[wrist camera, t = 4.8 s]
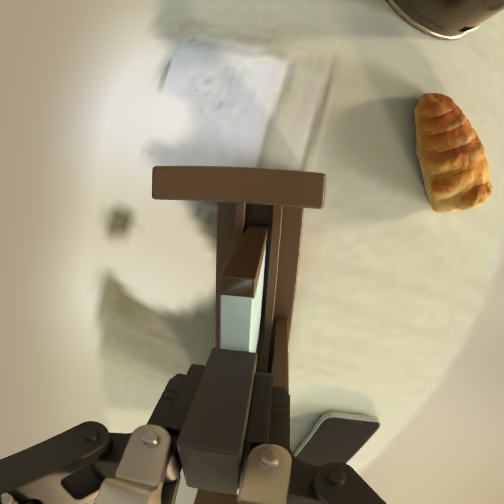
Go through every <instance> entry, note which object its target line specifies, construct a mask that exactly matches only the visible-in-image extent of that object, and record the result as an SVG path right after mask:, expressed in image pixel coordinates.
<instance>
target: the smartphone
mask: <svg viewBox="0 0 504 504" xmlns="http://www.w3.org/2000/svg"><path fill="white" fill-rule="evenodd" d="M379 427H380V421H379V418H377V417H373V416H364V415H355V414H348V413H340V412H327V413H325V414H323V415H322V416H321V417H320V419H319V420H318V422H317V423H316V425H315V426H314V427H313V429H312V430H311V431H310V433H309V434H308V436H307V437H306V438H305V440H304V441H303V442H302V444H301V445H300V446H299V447H298V449H297V450H296V451H295V453H294V454H293V455H294V456H295V457H296V458H297V459H299V460H300V461H302V462H305V463H308V464H312V465H315V466H319V467H320V466H322V465H324V464H326V463H329V462H341V463H345V464H346V463H347V462H348V461H349V460H350V459H351V458H352V457H353V456H354V455H355V454H356V453H357V452H358V451H359V450H360V449H361V448H362V447H363V446H364V445H365V443H366V442H367V441H368V440H369V439H370V438H371V437H372V436H373V435H374V433H375V432H376V431H377V430H378V429H379Z"/></svg>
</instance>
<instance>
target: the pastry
mask: <svg viewBox="0 0 504 504" xmlns="http://www.w3.org/2000/svg"><path fill="white" fill-rule="evenodd" d="M414 115H415V125H416V140H417V143H416V154H417V156H418V159H419V166H420V169H421V175H422V177H423V181H424V187H425V191H426V195H427V197H428V198H429V201H430V204H431V207H432V209H433V210H434V211H435V212H437V213H450V212H454V211H457V210H466V209H469V208H472V207H476V206H478V205H481V204H483V203H484V202H485V201H486V200H487V199H489V197H490V196H491V192H492V186H491V184H490V177H489V167H488V163H487V160H486V157H485V151H484V147H483V145H482V143H481V141H480V140H479V138H478V136H477V134H476V132H475V130H474V129H473V128H472V126H471V124H470V122H469V120H468V119H467V118H466V117H465V115H464V114H463V113H462V111H461V109H460V108H459V107H458V106H457V105H456V104H455V103H454V101H453V100H452V99H451V98H449V97H447V96H445V95H443V94H438V93H431V94H429V93H428V94H424V95H422V96H421V98H420V100H419V102H418V104H417V106H416V108H415V110H414Z"/></svg>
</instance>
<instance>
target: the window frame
mask: <svg viewBox="0 0 504 504" xmlns="http://www.w3.org/2000/svg"><path fill="white" fill-rule="evenodd" d="M152 174H153V175H152V198H153V199H161V200H163V199H164V200H192V201H215V202H218V218H217V256H216V348H219V349H220V295H219V276H220V274H221V272H222V270H223V269H224V267H225V265H226V264H227V262H228V260H229V258H230V257H231V255H232V253H233V252H234V250H235V248H236V246H237V245H238V243H239V241H240V240H241V238H242V236H243V235H244V233H245V231H246V230H247V228H248V226H249V224H252V225H266V226H268V237H267V242H266V256H265V270H264V284H263V297H262V310H261V323H260V342H259V349H258V356H257V363H256V372H258V373H269V374H273V376H272V386H278V387H285V389H286V390H287V392H288V394H289V377H288V344H289V337H290V330H291V323H292V315H293V307H294V299H295V291H296V282H297V273H298V264H299V255H300V245H301V235H302V224H303V213H304V208H314V209H322V208H323V207H324V199H325V187H326V175H325V174H323V173H315V172H305V171H293V170H280V169H266V168H248V167H223V166H155V167H153V172H152ZM242 478H243V474H242ZM241 482H242V479H241ZM237 496H238V495H234V494H227V493H220V492H214V491H208V490H203V489H198V491H197V495H196V499H195V502H194V504H235V503H236V500H237Z"/></svg>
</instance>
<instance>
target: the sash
mask: <svg viewBox="0 0 504 504" xmlns="http://www.w3.org/2000/svg"><path fill="white" fill-rule="evenodd" d="M267 237H268V226H266V225H252V224H249V226H248V228H247V230H246V231H245V233H244V235H243V236H242V238H241V240H240V241H239V243H238V245H237V246H236V248H235V250H234V252H233V253H232V255H231V257H230V258H229V260H228V262H227V264H226V265H225V267H224V269H223V270H222V272H221V274H220V276H219V295H220V349H219V348H213V349H212V351H211V354H210V356H209V359H208V361H207V364H206V366H205V369H204V372H203V374H202V377H201V379H200V382H199V385H198V387H197V390H196V392H195V395H194V398H193V400H192V403H191V405H190V408H189V411H188V413H187V416H186V419H185V421H184V424H183V426H182V429H181V432H180V434H179V437H178V439H177V442H176V444H177V448H178V453H179V457H180V461H181V465H182V469H183V472H184V476H185V480H186V483H187V486H189V487H193V488H198V489H203V490H208V491H214V492H220V493H227V494H234V495H238V493H239V489H240V485H241V479H242V468H243V454H244V440H245V434H246V428H247V421H248V415H249V408H250V402H251V395H252V389H253V382H254V375H255V372H256V363H257V356H258V349H259V342H260V323H261V310H262V297H263V284H264V270H265V256H266V242H267Z"/></svg>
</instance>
